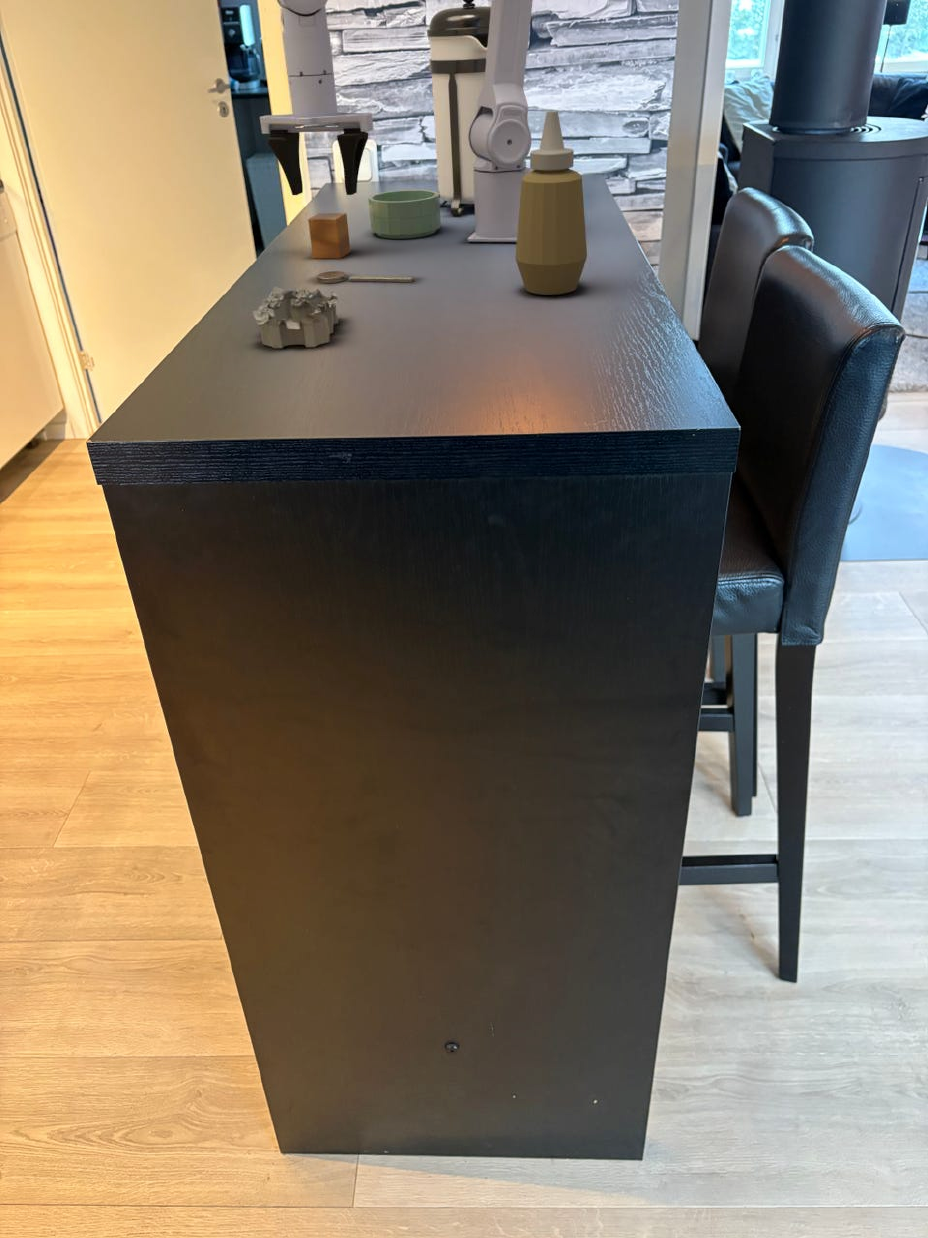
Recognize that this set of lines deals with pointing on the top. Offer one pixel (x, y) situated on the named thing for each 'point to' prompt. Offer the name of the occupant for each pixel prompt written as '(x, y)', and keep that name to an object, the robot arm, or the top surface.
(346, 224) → the block
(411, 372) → the top surface
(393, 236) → the bowl
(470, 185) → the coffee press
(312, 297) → the grey succulent planter
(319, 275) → the spoon
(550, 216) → the squeeze bottle
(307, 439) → the top surface
